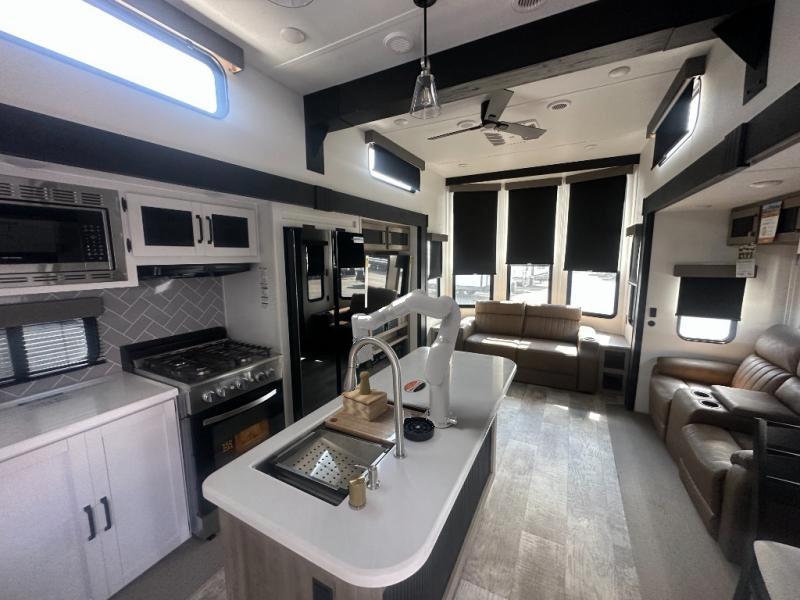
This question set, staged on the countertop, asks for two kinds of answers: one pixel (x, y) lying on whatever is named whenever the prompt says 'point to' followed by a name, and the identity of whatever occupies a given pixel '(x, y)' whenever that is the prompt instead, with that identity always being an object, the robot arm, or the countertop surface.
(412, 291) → the robot arm
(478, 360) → the countertop surface
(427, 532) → the countertop surface
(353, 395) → the box lid
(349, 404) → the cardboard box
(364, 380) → the tan tapered cylinder
